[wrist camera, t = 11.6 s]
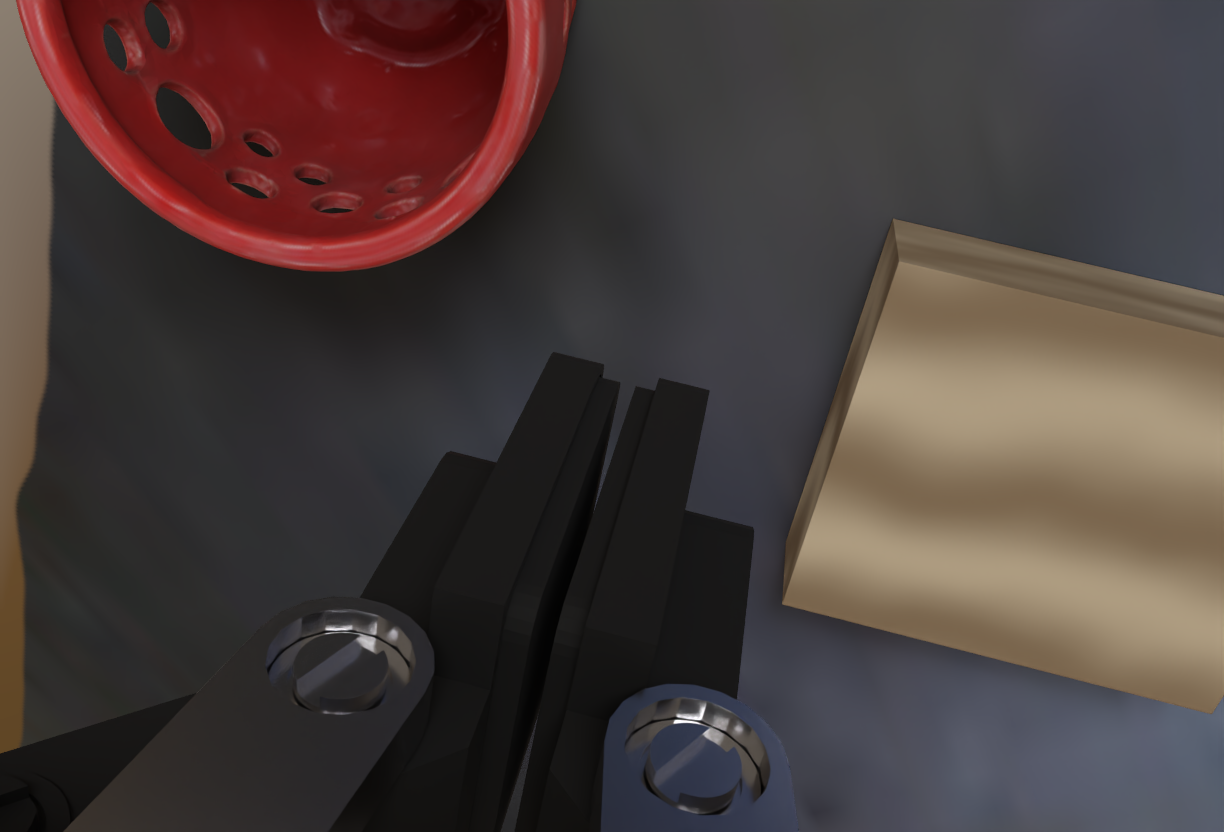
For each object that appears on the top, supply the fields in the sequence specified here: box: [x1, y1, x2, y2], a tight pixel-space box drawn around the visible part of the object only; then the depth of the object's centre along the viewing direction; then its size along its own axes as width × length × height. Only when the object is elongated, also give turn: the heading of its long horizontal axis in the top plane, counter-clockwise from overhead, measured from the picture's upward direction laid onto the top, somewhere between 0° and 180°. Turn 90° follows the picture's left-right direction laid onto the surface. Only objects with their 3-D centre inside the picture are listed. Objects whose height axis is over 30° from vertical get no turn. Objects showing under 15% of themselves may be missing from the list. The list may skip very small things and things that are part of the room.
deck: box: [782, 219, 1224, 714], centre depth 38 cm, size 14×16×4 cm
